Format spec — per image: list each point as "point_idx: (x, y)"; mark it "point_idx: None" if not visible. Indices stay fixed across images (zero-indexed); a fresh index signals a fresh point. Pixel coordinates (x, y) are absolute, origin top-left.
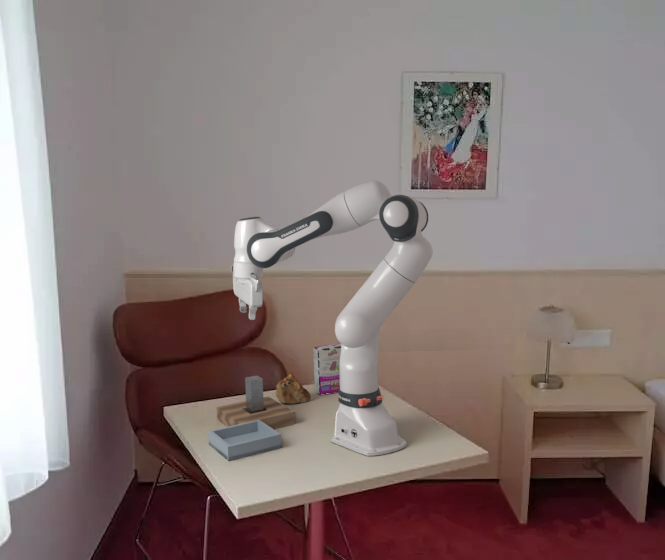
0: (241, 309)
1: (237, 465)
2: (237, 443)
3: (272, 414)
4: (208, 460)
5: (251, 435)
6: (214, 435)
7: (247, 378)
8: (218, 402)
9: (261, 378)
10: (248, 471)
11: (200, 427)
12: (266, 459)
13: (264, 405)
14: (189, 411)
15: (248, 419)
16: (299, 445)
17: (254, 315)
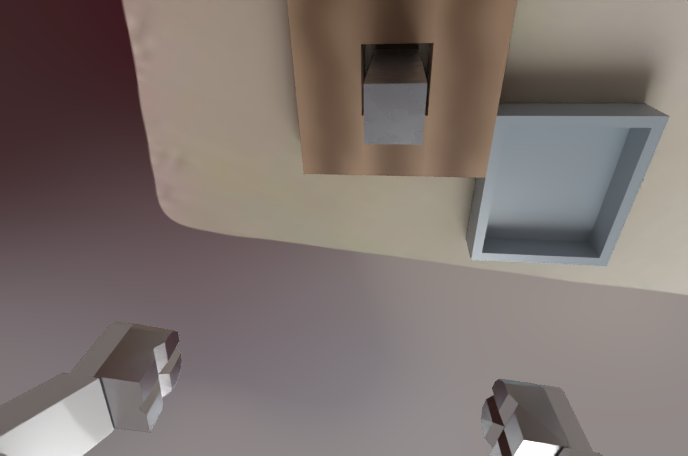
0: (160, 401)
1: (630, 239)
2: (609, 241)
3: (487, 51)
4: (548, 271)
5: (515, 147)
6: (511, 260)
7: (382, 141)
8: (167, 96)
9: (424, 88)
10: (682, 235)
11: (346, 213)
12: (668, 173)
13: (379, 30)
14: (216, 192)
15: (469, 142)
16: (683, 43)
17: (575, 433)
